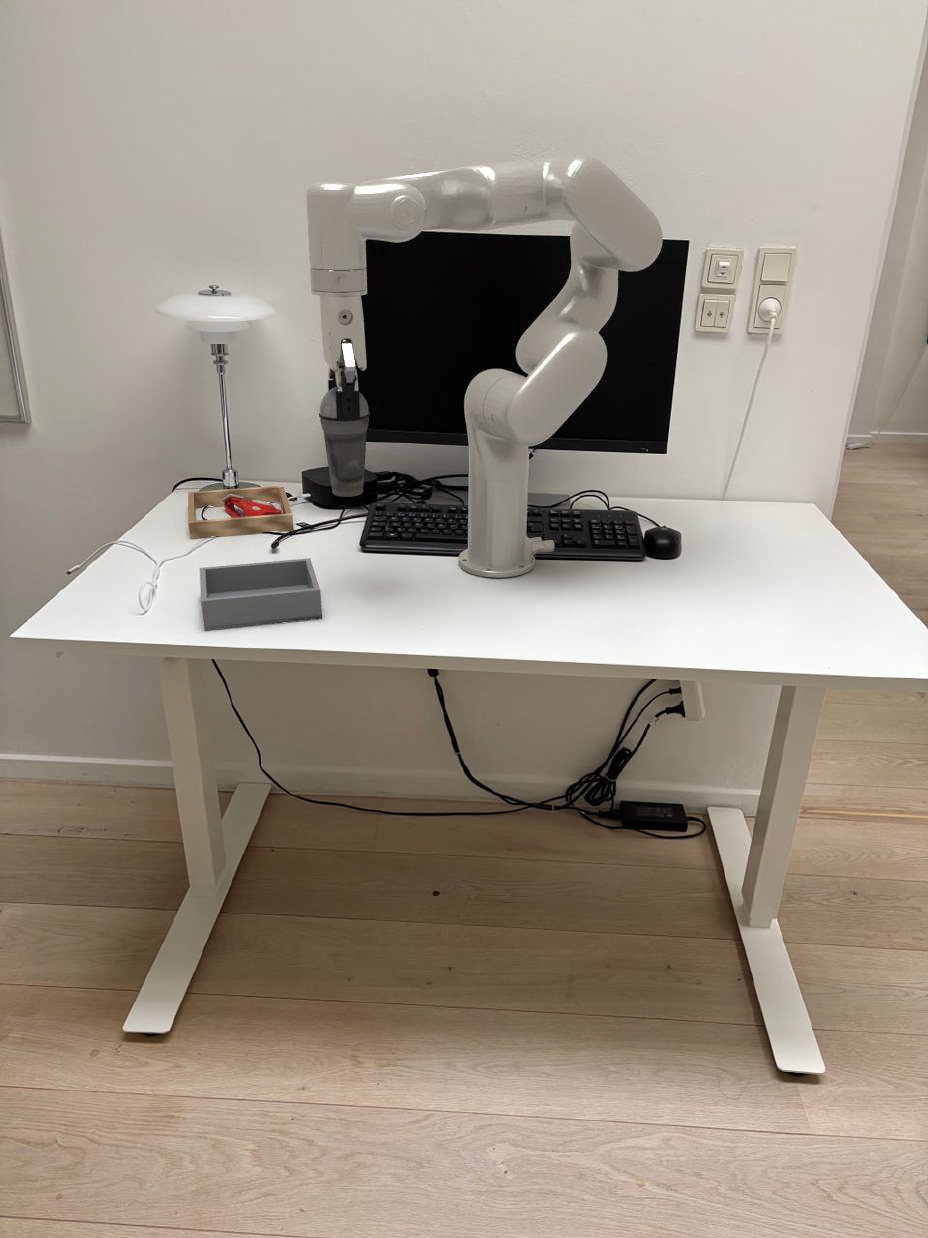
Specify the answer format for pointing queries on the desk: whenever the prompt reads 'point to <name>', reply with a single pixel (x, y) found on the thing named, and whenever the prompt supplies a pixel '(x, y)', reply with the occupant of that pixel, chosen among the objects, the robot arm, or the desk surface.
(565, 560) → the desk surface
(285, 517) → the oak organiser frame
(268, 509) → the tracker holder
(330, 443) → the beverage cup
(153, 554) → the desk surface
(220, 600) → the charcoal tray
